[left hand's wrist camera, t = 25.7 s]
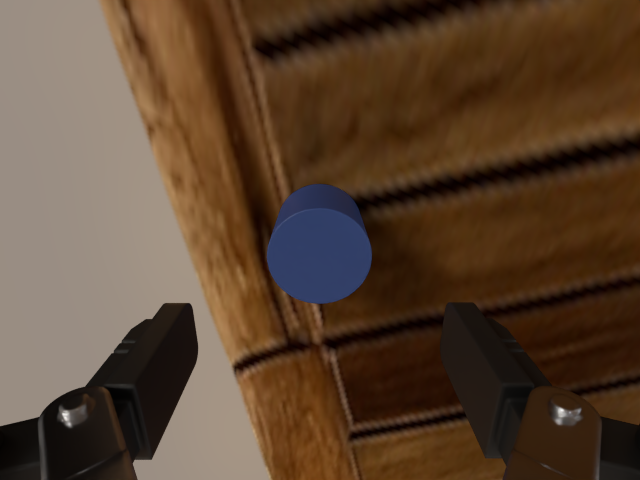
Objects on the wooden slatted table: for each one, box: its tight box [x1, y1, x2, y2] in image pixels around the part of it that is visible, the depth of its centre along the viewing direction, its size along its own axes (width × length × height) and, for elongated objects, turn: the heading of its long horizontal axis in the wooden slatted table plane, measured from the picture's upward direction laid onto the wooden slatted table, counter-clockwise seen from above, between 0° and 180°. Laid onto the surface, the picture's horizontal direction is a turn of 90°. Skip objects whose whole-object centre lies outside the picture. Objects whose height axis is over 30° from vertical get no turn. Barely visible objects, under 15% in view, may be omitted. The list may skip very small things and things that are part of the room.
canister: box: [267, 184, 372, 304], centre depth 19 cm, size 5×5×5 cm
